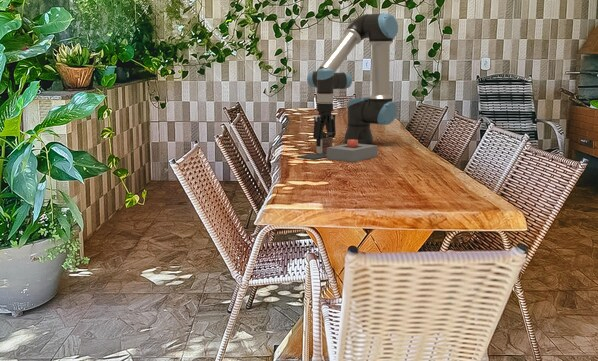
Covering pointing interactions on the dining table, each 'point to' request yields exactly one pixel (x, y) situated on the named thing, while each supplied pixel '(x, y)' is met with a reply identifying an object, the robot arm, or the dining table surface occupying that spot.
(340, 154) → the button panel
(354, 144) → the red dome button
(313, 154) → the mat
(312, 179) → the dining table surface
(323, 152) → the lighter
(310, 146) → the dining table surface
